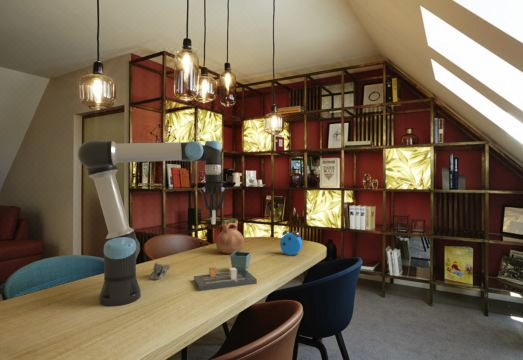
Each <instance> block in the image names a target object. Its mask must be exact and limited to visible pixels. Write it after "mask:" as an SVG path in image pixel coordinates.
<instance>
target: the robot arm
mask: <svg viewBox="0 0 523 360" xmlns="http://www.w3.org/2000/svg"><path fill="white" fill-rule="evenodd" d="M221 144H222V143H221V142H220V141H216V140H208V141H207V140H206V141H205V142H204V144H202V143H200V142H199V141H196V140H195V141H194V140H192V141H186V142H185V141H184V142H183V141H182V142H178V141H177V142H141V143H140V142H138V143H135V142H134V143H128V142H126V143H116V142H115V141H113V140H109V141H108V140H96V139H95V140H94V139H91V140H88V141H85V142H83V143H82V144H81V145H80V147H79V148H78V151H77V157H78V161H79V162H80V164H82V165H83V166H84V167H85V168H86V171H87V174H88V177H89V178H91V179H93V182H94V185H95V188H96V192H97V195H98V199H99V203H100V206H101V210H102V213H103V217H104V221H105V225H106V229H107V231H108V233H107V235H106V237H105V239H106V242H105V243H104V245H103V270H104V272H103V274H104V275H103V278H104V279H103V284H102V287H101V291H99V292H100V293H99V297H98V301H99V304H100V305H102V306H103V305H104V306H109V307H110V306H113V307H114V306H122V305H128V304H131V303H134V302H136V301H137V300H139V299H140V298H141V296H142V294H141V293H142V292H141V287H140V284H139V282H138V279H137V258H138V255H139V253H140V250H141V247H140V246H141V245H140V242H139V240H138V239H137V237H136V236H137V235H136V232H135V229H134V228H133V227H130V224H129V220H128V217H127V213H126V210H125V206H124V205H125V204H124V203H123V199H122V195H121V192H120V188H119V184H118V181H117V177H116V175H117V172H118V170H119V169H118V166H117V164H118V163H140V162H141V163H144V162H167V161H170V162H172V161H173V162H174V161H180V162H205V163H204V166H205V167H204V170H205V171H204V173H205V176H204V178H205V179H204V185H203V187H202V188H199V192H200V193H201V195H202V201H203V203H204V204H203V205H204V208H205V210H208V212H209V213H208V216H209V218H210V220H211V222H210V223H211V224H210V225H216V221H217V220H216V217H218V216H219V214H218V212H219V210H220V209H222V208H223V202H224V199H225V195H226V192H227V191H228V189H227V188H225V187H223V184H222V175H221V174H222V145H221ZM220 191H221V193H220ZM206 192H207V193H208V200H207V196H206ZM219 193H220V197H219ZM213 203H214V208H213Z"/></svg>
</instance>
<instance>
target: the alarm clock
mask: <svg viewBox="0 0 523 360" xmlns="http://www.w3.org/2000/svg"><path fill="white" fill-rule="evenodd" d="M281 234H282V237H281V238H280V242H279V246H280V250H281V251H282V252H283V253H284V254H285V255H288V256H295V255H298V253H299V252H301V250H302V248H303V241H302V237H301V234H300V232H299V231H297V230H294V231H293V232H291V231H289V230H284V231H282V233H281Z"/></svg>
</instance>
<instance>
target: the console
mask: <svg viewBox="0 0 523 360" xmlns="http://www.w3.org/2000/svg"><path fill="white" fill-rule="evenodd" d="M193 281H194V283H195V285H196V287H197V288H198V291H199V292H202V291H210V290H218V289H226V288H233V287H240V286H249V285H256V284H257V283H258V282H257V281H258V279H257V278H256V277H255V276H254V275H252V274H251V273H250V272H249V271H248V269H247V270H244V271H237V279H230V271H224V272H216V276H214V277H210V276H209V273H206V274H200V275H195V276H194V275H193Z"/></svg>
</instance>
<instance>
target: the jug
mask: <svg viewBox="0 0 523 360" xmlns="http://www.w3.org/2000/svg"><path fill="white" fill-rule="evenodd" d="M238 223H239V221H238V220H235V221H234V222H229V223H227V222H223V223H222V224H221V226H222V230H221V232H219V233H218V234H217V236H216V238H215V246H216V248H217V249H218V251H219V252H220V254H223V255H228V256H229V255H232V254H233V253H234V252H241V250H242V249H243V248H244V247H243V246H244V244H245V239H244V238H245V237H244V236H243V234H242V233H241V232H240V231H239V230H238ZM231 226H232V228H230V227H231Z"/></svg>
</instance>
